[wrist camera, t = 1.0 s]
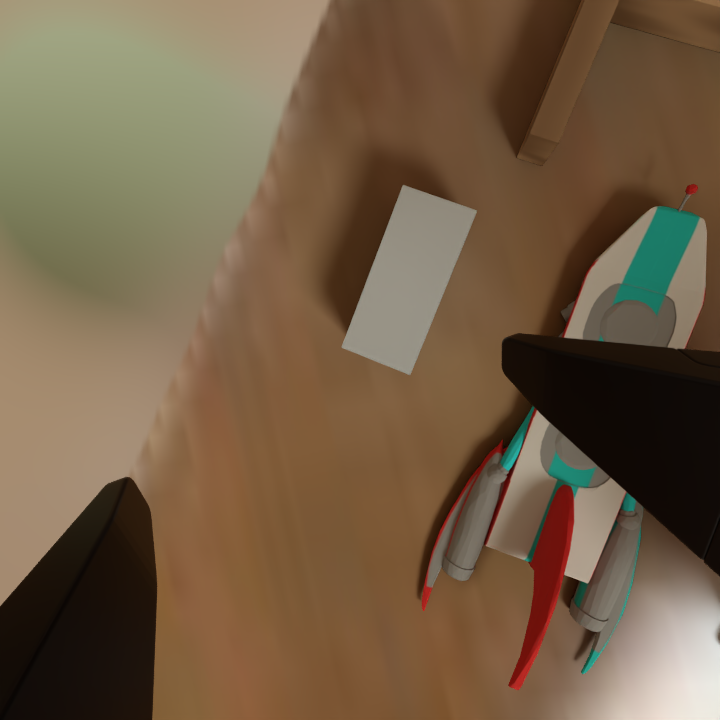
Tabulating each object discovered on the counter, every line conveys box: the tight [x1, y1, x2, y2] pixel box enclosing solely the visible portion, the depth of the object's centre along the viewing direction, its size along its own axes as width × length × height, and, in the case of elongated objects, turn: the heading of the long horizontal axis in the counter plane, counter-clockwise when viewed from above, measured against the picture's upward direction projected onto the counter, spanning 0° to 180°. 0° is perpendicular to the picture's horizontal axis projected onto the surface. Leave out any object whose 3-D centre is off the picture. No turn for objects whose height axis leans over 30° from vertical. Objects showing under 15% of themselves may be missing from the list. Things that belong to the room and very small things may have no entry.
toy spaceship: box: [422, 184, 707, 690], centre depth 23 cm, size 27×11×5 cm, turn 167°
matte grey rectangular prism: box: [342, 185, 477, 375], centre depth 23 cm, size 4×9×4 cm, turn 159°
